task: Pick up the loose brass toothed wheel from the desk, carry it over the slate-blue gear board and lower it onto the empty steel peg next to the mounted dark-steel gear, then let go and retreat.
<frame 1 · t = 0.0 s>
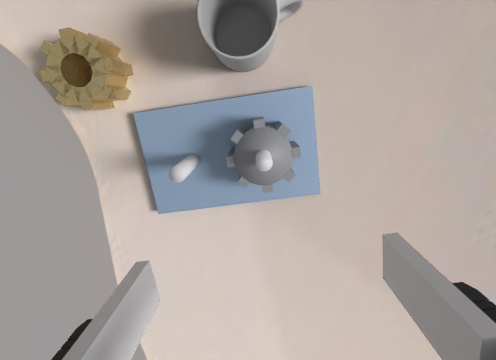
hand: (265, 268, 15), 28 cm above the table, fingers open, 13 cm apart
gear board: (230, 152, 42), on the table
brass gear: (100, 75, 39), on the table
mug: (254, 34, 37), on the table
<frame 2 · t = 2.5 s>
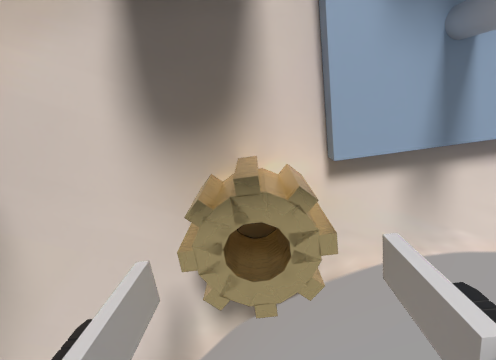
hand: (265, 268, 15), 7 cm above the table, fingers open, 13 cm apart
brass gear: (255, 215, 21), on the table
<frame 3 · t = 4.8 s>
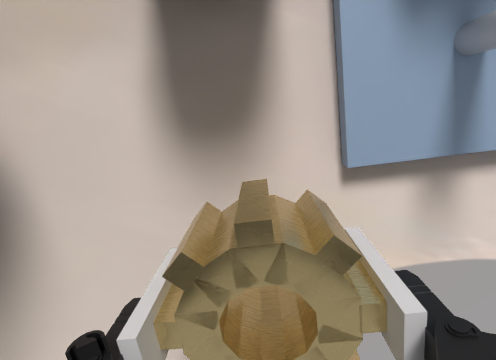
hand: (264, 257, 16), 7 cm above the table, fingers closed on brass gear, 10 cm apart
brass gear: (264, 255, 16), point 7 cm above the table, touching gripper
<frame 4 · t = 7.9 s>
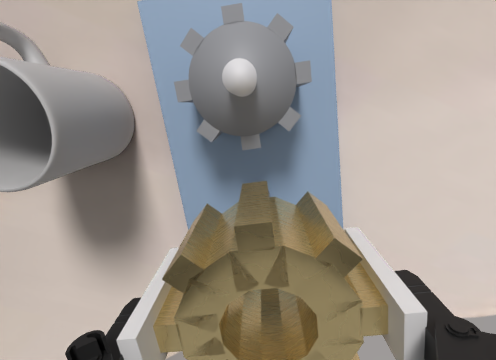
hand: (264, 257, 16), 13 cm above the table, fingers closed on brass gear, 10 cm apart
gear board: (253, 139, 27), on the table
brass gear: (265, 257, 16), point 13 cm above the table, touching gripper
mug: (85, 101, 26), on the table
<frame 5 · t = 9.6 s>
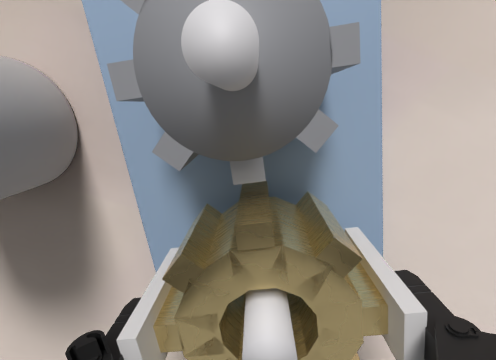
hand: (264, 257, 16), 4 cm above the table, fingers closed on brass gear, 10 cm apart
gear board: (252, 156, 18), on the table
brass gear: (265, 256, 16), point 4 cm above the table, touching gripper
mug: (4, 100, 18), on the table
when the fingers open (3 cm above the table, at t = 11.0 s): brass gear drops 1 cm, resting on gear board.
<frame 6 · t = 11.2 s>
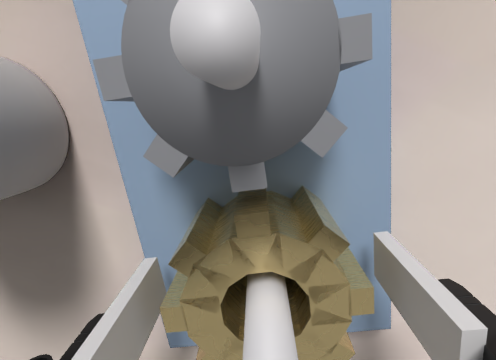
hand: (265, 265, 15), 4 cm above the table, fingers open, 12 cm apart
gear board: (252, 159, 17), on the table
brass gear: (262, 247, 17), point 1 cm above the table, touching gear board
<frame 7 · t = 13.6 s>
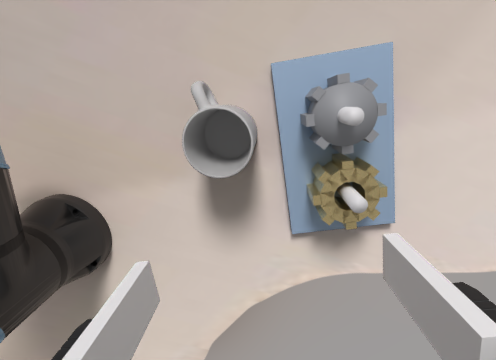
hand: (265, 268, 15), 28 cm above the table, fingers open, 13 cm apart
gear board: (334, 146, 41), on the table
brass gear: (338, 184, 41), point 1 cm above the table, touching gear board
mug: (225, 122, 41), on the table
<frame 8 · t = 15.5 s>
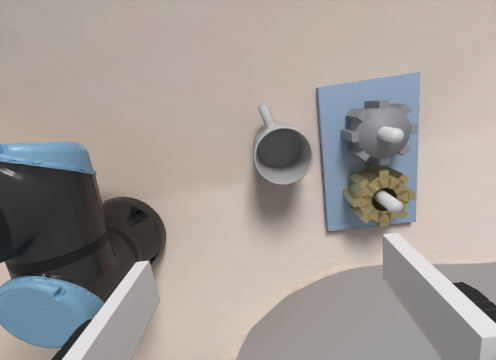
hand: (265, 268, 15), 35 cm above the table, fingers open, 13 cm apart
gear board: (366, 157, 48), on the table
brass gear: (370, 188, 48), point 1 cm above the table, touching gear board
mug: (273, 135, 48), on the table
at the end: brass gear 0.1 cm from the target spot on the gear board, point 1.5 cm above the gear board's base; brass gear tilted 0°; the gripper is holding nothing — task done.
